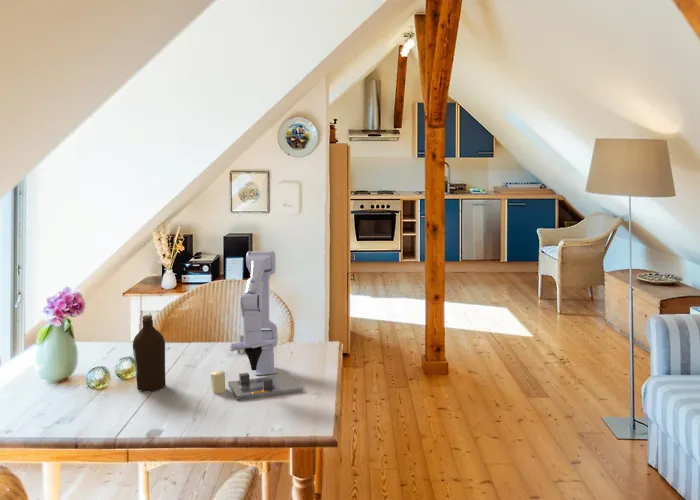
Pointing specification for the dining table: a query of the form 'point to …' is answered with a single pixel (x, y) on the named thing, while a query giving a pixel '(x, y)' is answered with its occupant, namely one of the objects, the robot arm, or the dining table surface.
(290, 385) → the panel
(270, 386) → the breaker tagged
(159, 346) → the olive oil
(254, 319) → the robot arm
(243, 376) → the block
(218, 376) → the cap
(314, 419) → the dining table surface
